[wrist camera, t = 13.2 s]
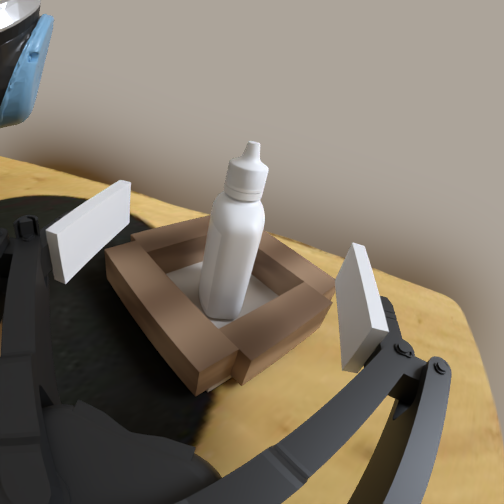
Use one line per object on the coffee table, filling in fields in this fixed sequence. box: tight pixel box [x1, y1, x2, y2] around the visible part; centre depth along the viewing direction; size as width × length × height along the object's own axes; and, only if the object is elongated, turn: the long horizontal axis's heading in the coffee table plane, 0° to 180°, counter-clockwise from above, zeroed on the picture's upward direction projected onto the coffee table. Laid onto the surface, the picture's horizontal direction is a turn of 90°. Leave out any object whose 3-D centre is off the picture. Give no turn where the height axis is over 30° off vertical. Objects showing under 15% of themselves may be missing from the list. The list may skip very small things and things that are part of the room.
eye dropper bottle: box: [199, 141, 269, 319], centre depth 20 cm, size 4×6×12 cm
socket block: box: [104, 215, 336, 397], centre depth 22 cm, size 14×14×3 cm
